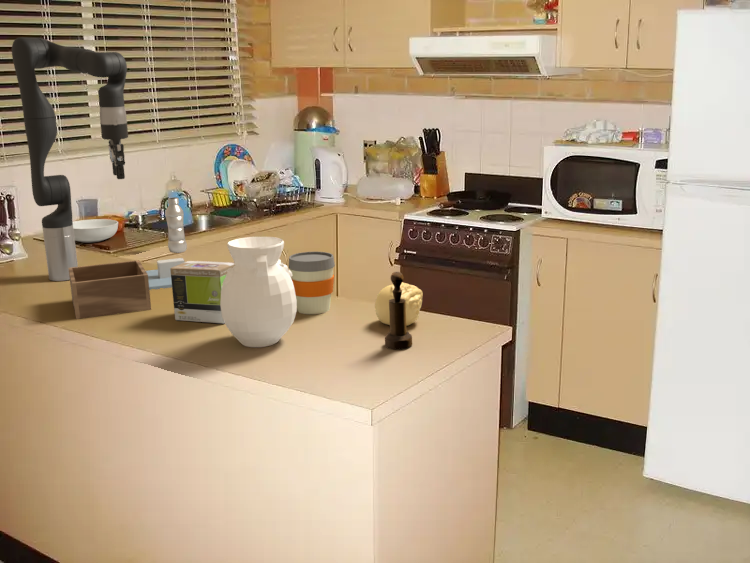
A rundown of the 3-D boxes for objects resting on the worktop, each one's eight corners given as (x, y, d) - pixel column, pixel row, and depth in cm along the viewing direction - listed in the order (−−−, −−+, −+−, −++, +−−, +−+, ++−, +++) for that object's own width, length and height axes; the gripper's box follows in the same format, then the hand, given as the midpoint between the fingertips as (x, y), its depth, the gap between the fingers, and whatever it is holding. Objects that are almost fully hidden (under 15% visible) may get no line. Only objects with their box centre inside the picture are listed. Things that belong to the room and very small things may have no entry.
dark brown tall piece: (383, 341, 207) (381, 269, 202) (410, 340, 207) (409, 268, 203) (386, 350, 200) (384, 276, 196) (413, 349, 201) (412, 274, 196)
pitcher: (305, 348, 203) (300, 245, 197) (228, 357, 198) (220, 252, 192) (290, 325, 221) (285, 231, 214) (219, 334, 216) (211, 237, 209)
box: (72, 300, 250) (68, 267, 247) (142, 292, 257) (139, 260, 255) (76, 318, 232) (71, 283, 229) (151, 309, 239) (147, 274, 237)
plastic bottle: (183, 254, 306) (178, 199, 301) (165, 254, 307) (160, 199, 302) (190, 251, 312) (185, 196, 307) (173, 250, 313) (168, 196, 308)
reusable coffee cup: (305, 301, 243) (303, 249, 239) (344, 305, 237) (342, 253, 234) (282, 313, 232) (279, 259, 228) (322, 318, 227) (319, 263, 223)
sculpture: (409, 332, 213) (408, 290, 210) (367, 326, 219) (366, 285, 216) (429, 320, 222) (428, 280, 220) (388, 314, 228) (388, 275, 226)
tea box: (241, 314, 232) (237, 261, 229) (223, 325, 223) (219, 270, 219) (193, 310, 237) (188, 258, 233) (173, 320, 228) (168, 267, 224)
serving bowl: (110, 245, 326) (108, 227, 324) (56, 246, 326) (53, 229, 325) (126, 234, 346) (124, 217, 344) (75, 235, 346) (73, 219, 345)
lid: (132, 277, 279) (130, 257, 277) (200, 269, 287) (198, 250, 285) (141, 293, 259) (139, 272, 257) (213, 284, 267) (212, 263, 265)
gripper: (97, 121, 256) (103, 174, 261) (103, 124, 244) (108, 181, 248) (123, 119, 259) (128, 173, 263) (130, 123, 246) (135, 179, 251)
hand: (119, 177), depth 256 cm, fingers open, 8 cm apart
